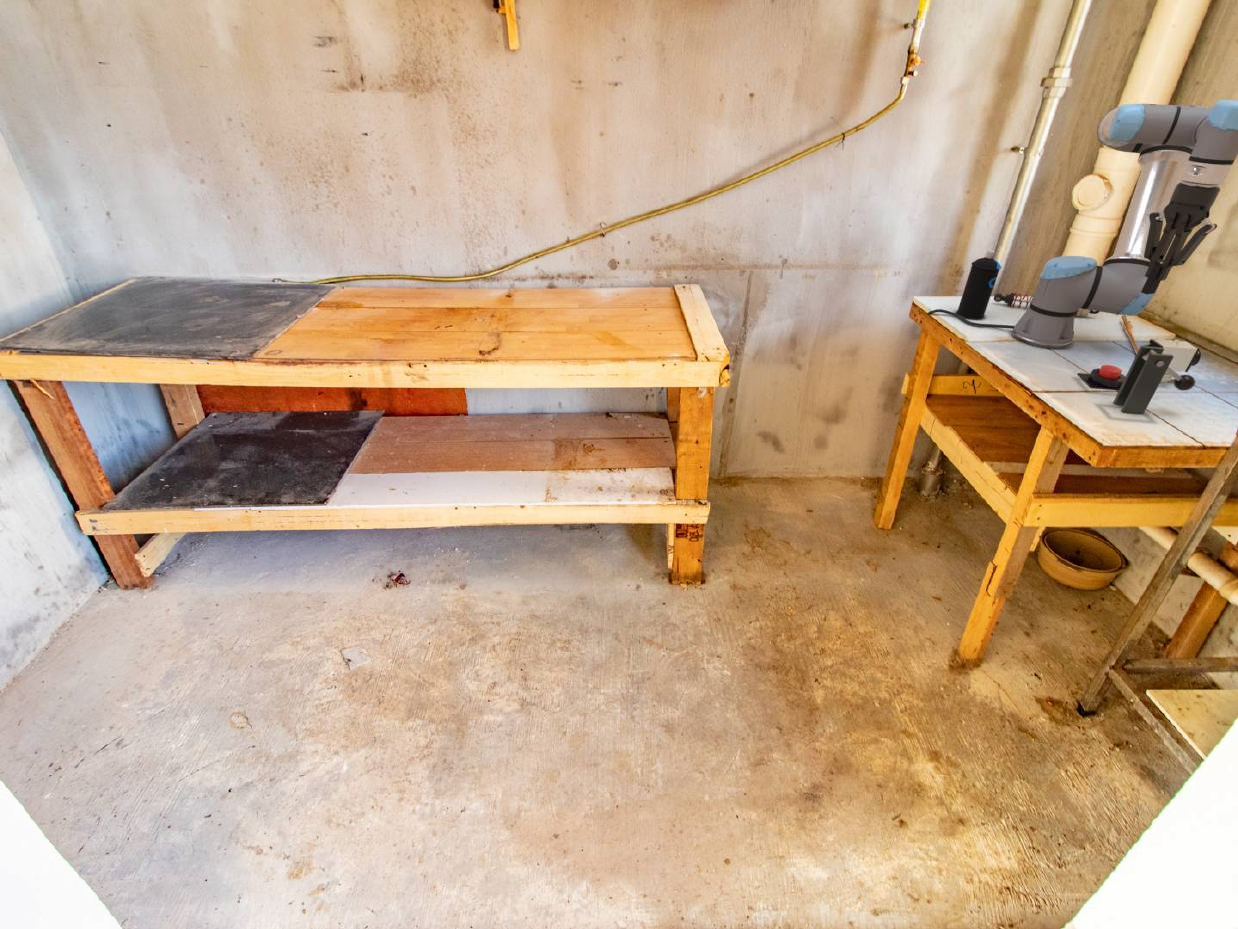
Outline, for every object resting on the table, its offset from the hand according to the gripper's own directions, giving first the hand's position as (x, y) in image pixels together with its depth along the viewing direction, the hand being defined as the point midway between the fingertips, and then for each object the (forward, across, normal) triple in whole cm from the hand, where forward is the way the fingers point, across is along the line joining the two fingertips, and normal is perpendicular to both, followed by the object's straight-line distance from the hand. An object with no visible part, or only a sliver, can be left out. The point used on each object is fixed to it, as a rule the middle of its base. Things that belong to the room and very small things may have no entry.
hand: (1147, 292), depth 151 cm
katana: (+25, -18, +37) cm, 48 cm away
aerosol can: (+25, -51, +9) cm, 57 cm away
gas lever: (+15, +13, -5) cm, 20 cm away
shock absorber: (+25, -45, +35) cm, 62 cm away
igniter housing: (+24, 0, 0) cm, 24 cm away
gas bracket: (+24, +12, -8) cm, 28 cm away
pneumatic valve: (+25, +3, +15) cm, 29 cm away
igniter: (+21, 0, 0) cm, 21 cm away
